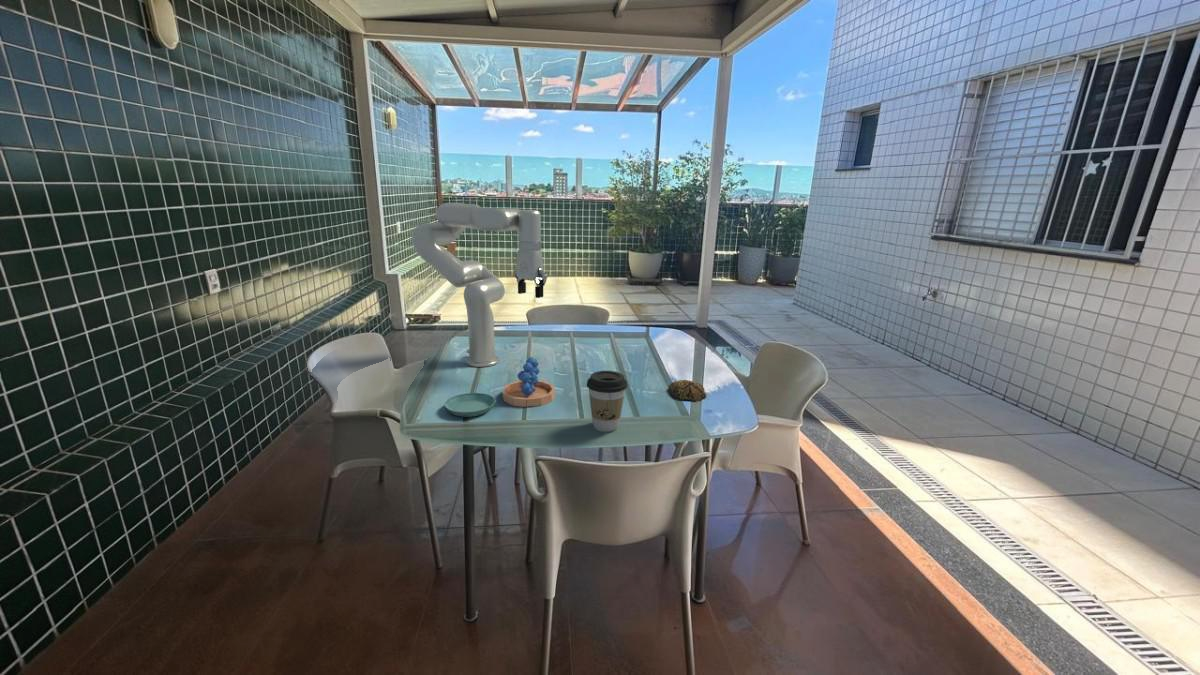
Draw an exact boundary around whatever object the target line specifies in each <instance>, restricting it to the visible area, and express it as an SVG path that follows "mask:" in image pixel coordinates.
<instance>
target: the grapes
mask: <svg viewBox="0 0 1200 675" xmlns="http://www.w3.org/2000/svg"><path fill="white" fill-rule="evenodd" d="M525 362H526V363H525V364H523V366H522V368H523V370H521V371H519V372H518V373H517V378H518V381H522V383H523V384H522V385H521V386H520V387H521V389H522V391H523V393H524V395H525V396H527V397H528V396H530V395H531V394H532V393H533V392H534V391H535V390H536V389H535V387H534V386H535V385H536V384H537V383H538V380H539V379H538V374H539V373H540V372H541V371H540V368H538V365H539V362H538V360H537V358H534V357H533V356H530V357H528V358H527V359H526V361H525Z"/></svg>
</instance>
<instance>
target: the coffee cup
mask: <svg viewBox="0 0 1200 675" xmlns="http://www.w3.org/2000/svg"><path fill="white" fill-rule="evenodd" d="M628 386H629V384H628V381H627V379H625V375H623V374H622V373H621V372H618V371H616V370H615V371H613V370H599V371H598V370H597V371H595V372H593V373H592V374H590V377H588V379H587V381H586V387H587V388H588V396H589V404H590V410H591V411H590V413H591V421H592V424H593V428H594V429H595V430H596V431H598V432H599V431H600V432H603V433H605V432H606V433H610V432H615V431H616V429H617V430H618V428H619V426H620V421H621V415H622V411H623V404H624V399H625V394H626V390H627V388H628Z"/></svg>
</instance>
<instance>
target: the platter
mask: <svg viewBox="0 0 1200 675" xmlns="http://www.w3.org/2000/svg"><path fill="white" fill-rule="evenodd" d="M522 384H523V383H522V381H521V380H516V381H513V382H511V383H508V384H506V385H505V386H504V387H503V388H502V398H503V402H505V403H507V404H509V405H510V406H513V407H514V406H515V407H520V408H521V407H522V408H523V407H524V408H529V407H528V406H533V407H540V406H543V404H544V405H546V404H548V403H551V402H552V401H553V400H554V399H555V398H556V388H555V386H554V384H553V383H550V382H547V381H544V380H539V379H538V383H537V384H536V385H535V386H534V387H535V389H536V390H535V391H534V392H533V393H532V394H531V395H530V396H528V397H527V396H525V395H524V393H523V391H522V389H521V387H520V386H521V385H522ZM539 405H540V406H539ZM526 406H527V407H526Z"/></svg>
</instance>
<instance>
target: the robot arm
mask: <svg viewBox="0 0 1200 675" xmlns="http://www.w3.org/2000/svg"><path fill="white" fill-rule="evenodd" d="M435 216H436V219H437V221H438V222H426V223H421V224H419V225H417V226H416V227H415V228H414V229H413V231H412V233H411V234H412V236H411V240H412V244H413V248H414V250H415V252H416V253H417V255H419V257H420V258H421V259H422V260H424V261H425V263H427V264H428V265H430V266H431V267H432V268H434V270H435V271H436V272H438V273H439V274H440V275H441V276H442V277H443V278H444V279H445V280H446V281H448V283H450V284H451V285H452V286H453V287H454V288H455V287H456V288H464V290H463V299H464V303H465V308H466V314H467V315H466V316H467V329H468V330H467V332H468V345H469V346H468V347H469V349H466V353H467V354H468V357H467V358H466V359H465V364H466V365H467V366H470V367H476V368H479V367H480V368H482V367H490V366H491V367H492V366H494V365H497V364H498V363H499V362H500V357H499V356H497V355H496V351H495V350H496V348H495V346H496V345H495V344H496V343H495V323H494V321H495V320H494V314H493V309H492V308H491V305H490V304H494V303H496V302H498V301H501V300H502V299H503V298H504V296H505V293H506V290H505V288H506V287H505V285H504V284H503V282H502V281H501V280H500V278H499V277H497V276H496V275H495V274H494V273H493V272H491V271H490V270H489V269H488V267H486V266H485V265H484V264H482V263H481V262H480V261H477V260H474V259H473V260H471V259H470V260H460V259H459V258H457V257H456V256H455V255H453V253H452V252H450V251H449V250H447V249H446V248H443V247H442V246H444V245H445V246H446V245H449V244H451V243H454V241H456V240H457V239H458V237H459V236H460V235H462V233H463V232H464V231H466V229H473V230H480V231H486V232H487V231H489V232H490V231H492V232H512V231H518V250H517V254H516V262H515V264H516V265H515V268H514V269H513V271H514V276H515V277H514V278H515V279H516V283H517V294H520V295H521V294H525V293H527V283H526V281H529V282H532V281H534V283H535V287H534V288H535V289H534V290H535V292H534V295H535V296H534V297H535V299H539V298H543V297H544V286H546V285H545V284H546V283H547V281H548V280H547V279H548V274H547V273H546V272H545V271H544V262H543V253H542V215H541V212H540V211H539V210H536V209H520V208H506V207H505V208H504V207H503V208H492V207H482V206H480V205H478V204H473V203H471V204H470V203H464V202H445V203H442V204H441V205H439V206H438V207H437V209H436V211H435Z"/></svg>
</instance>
